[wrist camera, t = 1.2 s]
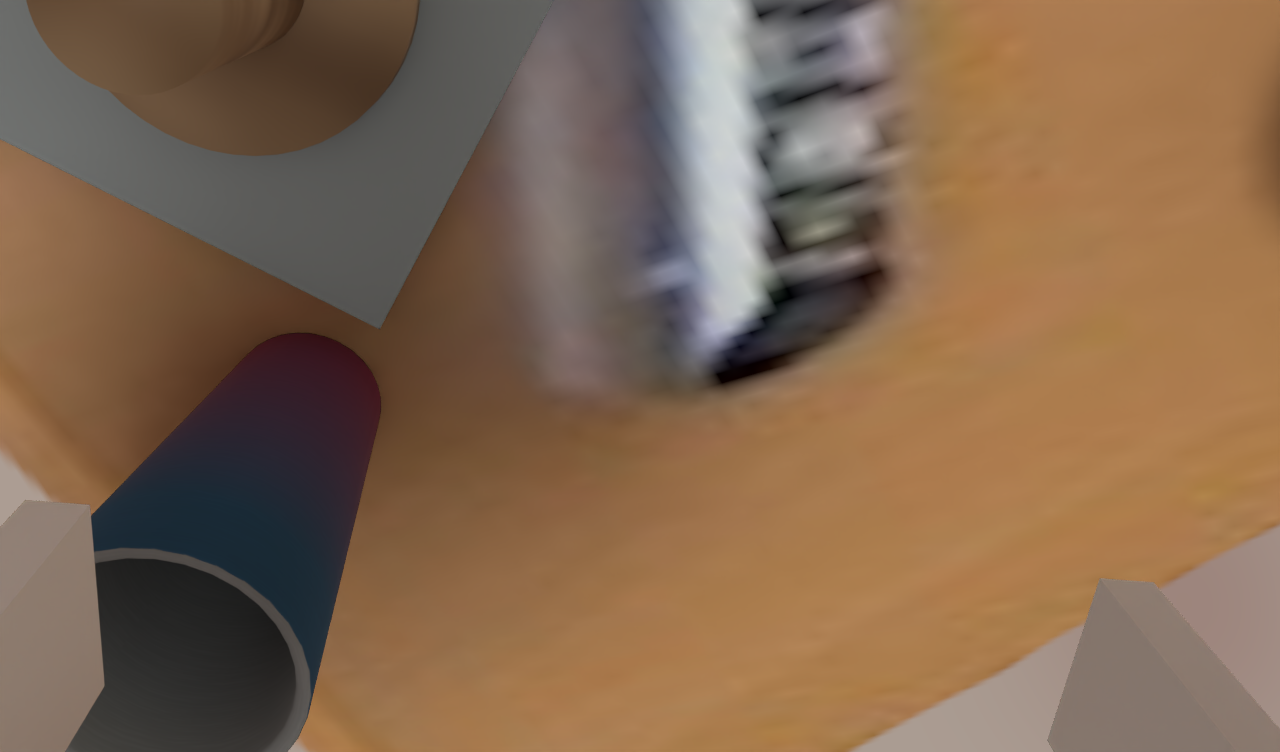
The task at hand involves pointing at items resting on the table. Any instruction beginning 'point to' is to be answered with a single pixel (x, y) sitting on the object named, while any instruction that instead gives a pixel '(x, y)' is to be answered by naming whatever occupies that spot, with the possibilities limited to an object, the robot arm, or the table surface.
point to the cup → (232, 557)
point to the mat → (290, 154)
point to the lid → (235, 63)
